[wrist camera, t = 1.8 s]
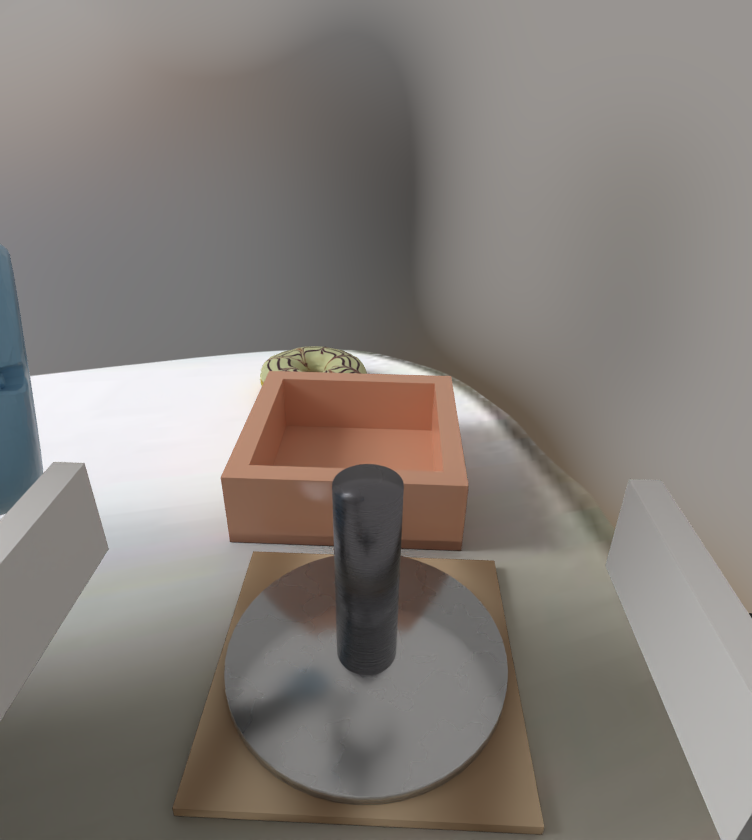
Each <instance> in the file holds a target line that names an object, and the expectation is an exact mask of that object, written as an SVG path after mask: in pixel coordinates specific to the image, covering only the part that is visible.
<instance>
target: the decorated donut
mask: <svg viewBox="0 0 752 840" xmlns="http://www.w3.org/2000/svg"><path fill="white" fill-rule="evenodd" d="M269 371H291V372H324V373H358V374H367V372H366V370H365V367H364V365H363V364H362V362H361V361H360V360H359V359H358V358H357V357H355V356H353V355H351V354H349V353H347V352H345V351H342V350H338V349H332V348H328V347H317V346H315V347H300V348H296V349H293V350H289V351H284V352H282V353H279V354H277V355H274V356H272V357H270V358H269V359H268V360H267V361H266V362H265V363H264V365H263V366H262V369H261V374H260V377H261V379H260V380H261V385H263V383H264V381H265V379H266V377H267V374H268V372H269Z"/></svg>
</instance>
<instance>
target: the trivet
mask: <svg viewBox="0 0 752 840" xmlns="http://www.w3.org/2000/svg"><path fill="white" fill-rule="evenodd" d="M330 556H334V555H331V554H305V553H279V552H253V554H252V557H251V560H250V563H249V567H248V570H247V573H246V576H245V579H244V582H243V586H242V589H241V592H240V595H239V598H238V601H237V605H236V608H235V611H234V614H233V617H232V621H231V624H230V627H229V630H228V633H227V636H226V640H225V643H224V646H223V649H222V652H221V655H220V659H219V662H218V665H217V668H216V671H215V674H214V678H213V681H212V684H211V687H210V690H209V694H208V697H207V700H206V703H205V706H204V709H203V713H202V716H201V719H200V722H199V725H198V728H197V732H196V735H195V738H194V741H193V744H192V748H191V751H190V754H189V757H188V760H187V763H186V767H185V770H184V773H183V776H182V779H181V782H180V786H179V789H178V792H177V795H176V798H175V801H174V805H173V808H172V809H173V812H174V816H189V817H209V818H228V819H248V820H268V821H287V822H307V823H327V824H347V825H366V826H386V827H406V828H425V829H445V830H465V831H484V832H504V833H524V834H542V833H543V830H544V823H543V818H542V813H541V807H540V802H539V797H538V791H537V786H536V781H535V775H534V770H533V765H532V759H531V754H530V749H529V743H528V738H527V733H526V727H525V722H524V717H523V711H522V706H521V701H520V695H519V690H518V685H517V679H516V674H515V669H514V663H513V658H512V653H511V647H510V642H509V637H508V631H507V626H506V621H505V615H504V610H503V605H502V600H501V594H500V589H499V584H498V578H497V573H496V568H495V562H494V561H488V560H462V559H436V558H411V559H414V560H418V561H420V562H423V563H425V564H428V565H431V566H433V567H435V568H437V569H439V570H441V571H443V572H445V573H446V574H448V575H450V576H451V577H453V578H454V579H456V580H457V581H459V582H460V583H461V584H462V585H464V586H465V587H466V588H467V589H469V590H470V591H471V592H472V593H473V594H474V595H475V596H476V597H477V598H478V599H479V600H480V602H481V603H482V604H483V606H484V607H485V608H486V609H487V611H488V612H489V614H490V615H491V617H492V619H493V620H494V622H495V624H496V626H497V628H498V630H499V633H500V635H501V638H502V640H503V644H504V648H505V652H506V656H507V666H508V680H507V691H506V696H505V700H504V705H503V710H502V714H501V717H500V719H499V722H498V724H497V727H496V730H495V731H494V733H493V735H492V737H491V738H490V740H489V742H488V744H487V745H486V747H485V748H484V749H483V750H482V752H481V753H480V754H479V755H478V757H477V758H476V759H475V760H474V761H473V762H472V763H471V764H470V765H469V766H468V767H467V768H466V769H465V770H463V771H462V772H461V773H460V774H459V775H457V776H456V777H454V778H453V779H451V780H450V781H448V782H447V783H445V784H444V785H442V786H440V787H438V788H436V789H434V790H432V791H430V792H428V793H426V794H424V795H421V796H418V797H414V798H411V799H408V800H405V801H401V802H395V803H389V804H382V805H350V804H342V803H335V802H331V801H327V800H323V799H320V798H316V797H313V796H310V795H308V794H306V793H303V792H301V791H299V790H296V789H294V788H292V787H291V786H289V785H288V784H286V783H284V782H283V781H281V780H279V779H278V778H276V777H275V776H274V775H273V774H271V773H270V772H269V771H268V770H267V769H266V768H264V767H263V766H262V765H261V764H260V763H259V762H258V761H257V760H256V758H255V757H254V756H253V755H252V754H251V753H250V751H249V750H248V749H247V747H246V746H245V744H244V743H243V741H242V739H241V738H240V736H239V735H238V732H237V730H236V728H235V725H234V723H233V721H232V718H231V714H230V710H229V706H228V702H227V697H226V692H225V680H224V669H225V658H226V653H227V649H228V645H229V642H230V639H231V636H232V634H233V631H234V629H235V627H236V625H237V623H238V622H239V620H240V618H241V616H242V615H243V613H244V612H245V611H246V609H247V608H248V606H249V605H250V604H251V603H252V602H253V600H254V599H255V598H256V597H257V596H258V595H259V594H260V593H261V592H262V591H263V590H265V589H266V588H267V587H268V586H269V585H271V584H272V583H273V582H274V581H276V580H277V579H279V578H280V577H282V576H283V575H285V574H287V573H289V572H290V571H292V570H294V569H296V568H298V567H300V566H303V565H305V564H308V563H310V562H313V561H316V560H319V559H323V558H326V557H330ZM407 558H410V557H407Z"/></svg>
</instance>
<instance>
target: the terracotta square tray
mask: <svg viewBox="0 0 752 840" xmlns="http://www.w3.org/2000/svg"><path fill="white" fill-rule="evenodd" d="M360 464H375V465H381V466H385V467H387V468H390V469H392V470H394V471H395V472H396V473H398V474H399V475H400V477H401V478H402V480H403V483H404V494H403V516H402V538H401V548H405V549H431V550H458V551H461V547H462V538H463V530H464V521H465V512H466V504H467V495H468V480H467V473H466V467H465V461H464V455H463V448H462V442H461V436H460V429H459V423H458V417H457V411H456V404H455V398H454V392H453V385H452V379H451V376H424V375H391V374H358V373H324V372H291V371H269V372H268V374H267V377H266V379H265V381H264V383H263V385H262V388H261V390H260V392H259V394H258V396H257V399H256V401H255V403H254V405H253V407H252V410H251V412H250V414H249V416H248V419H247V421H246V423H245V425H244V427H243V430H242V432H241V434H240V436H239V438H238V441H237V443H236V445H235V447H234V449H233V452H232V454H231V456H230V458H229V460H228V463H227V465H226V467H225V469H224V471H223V474H222V476H221V482H222V489H223V496H224V503H225V510H226V517H227V524H228V531H229V537H230V542H246V543H273V544H299V545H326V546H334V535H333V501H332V482H333V479H334V478H335V476H336V475H337V474H338V473H339V472H341V471H342V470H344V469H346V468H348V467H351V466H355V465H360Z"/></svg>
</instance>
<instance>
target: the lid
mask: <svg viewBox="0 0 752 840" xmlns="http://www.w3.org/2000/svg"><path fill="white" fill-rule="evenodd" d="M403 494H404V483H403V480H402V478H401V477H400V475H399V474H398V473H396V472H395V471H394V470H392V469H390V468H387V467H385V466H381V465H375V464H360V465H355V466H351V467H348V468H346V469H344V470H342V471H341V472H339V473H338V474H337V475H336V476H335V478H334V479H333V482H332V501H333V535H334V556H330V557H326V558H323V559H319V560H316V561H313V562H310V563H308V564H305V565H303V566H300V567H298V568H296V569H294V570H292V571H290V572H289V573H287V574H285V575H283V576H282V577H280V578H279V579H277V580H276V581H274V582H273V583H272V584H271V585H269V586H268V587H267V588H266V589H265V590H263V591H262V592H261V593H260V594H259V595H258V596H257V597H256V598H255V599H254V600H253V602H252V603H251V604H250V605H249V606H248V608H247V609H246V611H245V612H244V613H243V615H242V616H241V618H240V620H239V622H238V623H237V625H236V627H235V629H234V631H233V634H232V636H231V639H230V642H229V645H228V649H227V653H226V658H225V669H224V680H225V692H226V697H227V702H228V706H229V710H230V714H231V718H232V721H233V723H234V725H235V728H236V730H237V732H238V735H239V736H240V738H241V739H242V741H243V743H244V744H245V746H246V747H247V749H248V750H249V751H250V753H251V754H252V755H253V756H254V757H255V758H256V760H257V761H258V762H259V763H260V764H261V765H262V766H263V767H264V768H266V769H267V770H268V771H269V772H270V773H271V774H273V775H274V776H275V777H276V778H278V779H279V780H281V781H283V782H284V783H286V784H288V785H289V786H291V787H292V788H294V789H296V790H299V791H301V792H303V793H306V794H308V795H310V796H313V797H316V798H320V799H323V800H327V801H331V802H335V803H342V804H350V805H382V804H389V803H395V802H401V801H405V800H408V799H411V798H414V797H418V796H421V795H424V794H426V793H428V792H430V791H432V790H434V789H436V788H438V787H440V786H442V785H444V784H445V783H447V782H448V781H450V780H451V779H453V778H454V777H456V776H457V775H459V774H460V773H461V772H462V771H463V770H465V769H466V768H467V767H468V766H469V765H470V764H471V763H472V762H473V761H474V760H475V759H476V758H477V757H478V755H479V754H480V753H481V752H482V750H483V749H484V748H485V747H486V745H487V744H488V742H489V740H490V738H491V737H492V735H493V733H494V731H495V730H496V727H497V724H498V722H499V719H500V717H501V714H502V710H503V705H504V700H505V696H506V691H507V680H508V666H507V656H506V652H505V648H504V644H503V640H502V638H501V635H500V633H499V630H498V628H497V626H496V624H495V622H494V620H493V619H492V617H491V615H490V614H489V612H488V611H487V609H486V608H485V607H484V606H483V604H482V603H481V602H480V600H479V599H478V598H477V597H476V596H475V595H474V594H473V593H472V592H471V591H470V590H469V589H467V588H466V587H465V586H464V585H462V584H461V583H460V582H459V581H457V580H456V579H454V578H453V577H451V576H450V575H448V574H446V573H445V572H443V571H441V570H439V569H437V568H435V567H433V566H431V565H428V564H425V563H423V562H420V561H418V560H414V559H411V558H407V557H403V556H401V538H402V516H403Z"/></svg>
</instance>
